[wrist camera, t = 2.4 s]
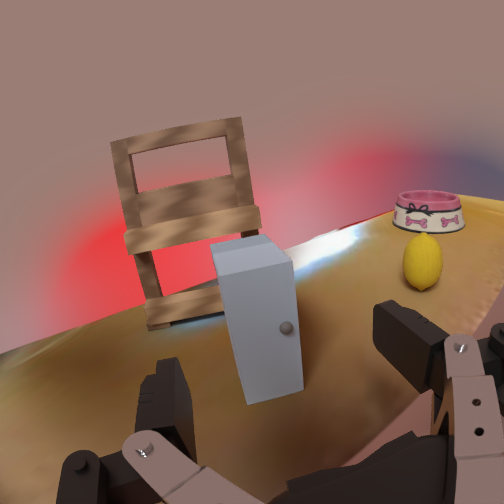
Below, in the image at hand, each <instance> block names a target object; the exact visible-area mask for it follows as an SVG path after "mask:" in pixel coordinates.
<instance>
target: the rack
mask: <svg viewBox="0 0 504 504" xmlns="http://www.w3.org/2000/svg"><path fill="white" fill-rule="evenodd" d="M223 136H225V138H226V145H227V150H228V158H229V164H230V170H231V175H225V176H220V177H214V178H209V179H204V180H198V181H193V182H188V183H183V184H178V185H173V186H168V187H164V188H159V189H154V190H150V191H145V192H141V193H138V189H137V184H136V178H135V173H134V167H133V162H132V156H131V155H132V154H136V153H141V152H145V151H149V150H154V149H158V148H163V147H167V146H172V145H177V144H183V143H188V142H193V141H199V140H204V139H211V138H217V137H223ZM110 144H111V150H112V157H113V162H114V168H115V174H116V179H117V184H118V189H119V194H120V199H121V204H122V209H123V213H124V218H125V222H126V226H127V231H126V232H125V233H124V239H125V243H126V247H127V251H128V255H132V254H133V255H134V259H135V262H136V266H137V270H138V273H139V277H140V280H141V284H142V287H143V291H144V294H145V297H146V303H145V307H144V310H145V313H146V316H147V327H148V330H149V331H150V330H155V329H161V328H166V327H170V326H171V321H176V320H181V319H186V318H191V317H196V316H201V315H206V314H211V313H216V312H220V311H224V308H223V303H222V298H221V294H220V289H219V285H217V286H213V287H208V288H203V289H198V290H193V291H188V292H183V293H178V294H173V295H168V296H163V294H162V291H161V287H160V283H159V280H158V276H157V272H156V269H155V264H154V260H153V256H152V252H151V250H155V249H160V248H165V247H169V246H174V245H179V244H184V243H189V242H193V241H198V240H203V239H208V238H214V237H218V236H224V235H228V234H234V233H239V232H241V238H245V237H250V236H256V235H259V232H258V229H259V228H262V225H261V218H260V211H259V207H258V206H256V205H255V204H254V198H253V192H252V185H251V178H250V172H249V166H248V158H247V152H246V145H245V139H244V133H243V126H242V120H241V117H235V118H227V119H220V120H214V121H208V122H201V123H196V124H190V125H185V126H179V127H174V128H169V129H165V130H159V131H155V132H150V133H146V134H142V135H138V136H133V137H129V138H126V139H121V140H117V141H113V142H111V143H110Z"/></svg>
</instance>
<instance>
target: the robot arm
mask: <svg viewBox="0 0 504 504" xmlns="http://www.w3.org/2000/svg"><path fill="white" fill-rule="evenodd" d="M373 342H374V345H375V347H376V349H377V350H378V351H379V352H380V353H381V354H382V355H383V356H384V357H385V358H386V359H387V360H388V361H389V362H390V363H391V364H392V365H393V366H394V367H395V368H396V369H397V370H398V371H399V372H400V373H401V374H402V375H403V376H404V377H405V378H406V379H407V380H408V381H409V383H410V384H411V385H412V386H413V387H414V388H415V389H416V390H417V391H418V392H419V393H420V394H422V393H424V392H426V391H428V390H429V389H432V390H433V394H432V413H431V431H430V435H427V436H421V437H417V436H416V435H415V434H414V433H413V432H412V431H410V432H408V433H406V434H404V435H402V436H400V437H398V438H397V439H394V440H393V441H390V442H388V443H386V444H384V445H383V446H382V447H381V448H379V449H378V450H377V451H375V452H374V453H373V454H371V455H370V456H369V457H367V458H366V459H364V460H363V461H362V462H360V463H358V464H356V465H352V466H346V467H340V468H334V469H327V470H320V471H317V472H314V473H311V474H308V475H305V476H302V477H299V478H295V479H292V480H289V481H286V482H287V487H288V490H286V491H284V492H283V493H281V494H279V495H278V496H276V497H275V498H273V499H272V500H271V501H270V502H269V503H268V504H504V438H503V430H502V422H501V415H502V416H503V417H504V323H498V324H496V325H494V326H493V327H492V328H491V332H490V336H489V337H488V338H484V339H480V340H477V341H476V340H475V339H474V338H473V337H471V336H469V335H466V334H453V335H451V336H450V335H449V334H448V333H446V332H445V331H444V330H442V329H441V328H439V327H438V326H437V325H435V324H434V323H432V322H429V320H428V319H427V318H425V317H423V316H422V315H421V314H420V313H418V312H417V311H415V310H412V309H409V308H406V307H402V306H400V305H399V304H398V303H396V302H395V301H393V300H388V301H385V302H382V303H379V304H376V305H375V306H374V308H373ZM139 395H140V396H139V401H138V403H139V404H138V408H137V415H136V423H135V432H134V434H132V435H131V436H129V437H128V438H127V439H126V441H125V442H124V444H123V447H122V450H121V451H119V452H116V453H113V454H110V455H107V456H104V457H101V458H99V457H98V456H97V455H96V454H95V453H93V452H92V451H89V450H79V451H76V452H74V453H72V454H70V455H69V456H68V457H67V458H66V459H65V461H64V463H63V466H62V471H61V476H60V481H59V487H58V493H57V499H56V504H156V503H158V502H161V501H162V502H163V503H164V504H265V503H263V502H261V501H259V500H258V499H256V498H254V497H253V496H251V495H250V494H248V493H246V492H245V491H243V490H242V489H240V488H239V487H237V486H236V485H234V484H232V483H231V482H229V481H228V480H227V479H225V478H224V477H222V476H221V475H219V474H218V473H216V472H215V471H214V470H212V469H211V468H209V467H207V466H203V467H200V466H198V465H197V457H196V446H195V435H194V423H193V410H192V399H191V394H190V390H189V387H188V385H187V382H186V379H185V377H184V374H183V372H182V369H181V366H180V363H179V361H178V359H177V357H174V358H169V359H163V360H158V361H157V366H156V374H153V375H147V377H146V378H145V379H144V381H143V382H142V384H141V387H140V394H139ZM500 414H501V415H500Z"/></svg>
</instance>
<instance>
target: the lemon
mask: <svg viewBox="0 0 504 504" xmlns="http://www.w3.org/2000/svg"><path fill="white" fill-rule="evenodd" d="M442 267H443V256H442V251H441V247H440V245H439V243H438V242H437V241H436V240H435V239H434V238H433V237H431V236H429V235H428V234H427V233H426V232H422V233H421V234H420V235H417V236H415V237H414V238H412V239H411V240H410V241H409V242H408V244H407V246H406V248H405V251H404V256H403V271H404V275H405V277H406V279H407V281H408V282H409V283H410V284H411V285H412V286H414V287H417V289H418V290H420V291H423V290H424V289H425V288H428V287H430V286H432V285H433V284H435V283H436V282H437V280H438V279H439V277H440V274H441V272H442Z"/></svg>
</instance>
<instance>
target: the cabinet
mask: <svg viewBox="0 0 504 504" xmlns="http://www.w3.org/2000/svg"><path fill="white" fill-rule="evenodd" d="M210 248H211V253H212V258H213V262H214V266H215V270H216V274H217V279H218V284H219V289H220V294H221V298H222V303H223V308H224V312H225V317H226V322H227V326H228V331H229V335H230V340H231V344H232V349H233V353H234V357H235V362H236V366H237V370H238V374H239V378H240V381H241V385H242V388H243V392H244V395H245V399H246V402H247V405H250V404H255V403H259V402H263V401H267V400H270V399H274V398H278V397H282V396H285V395H289V394H292V393H296V392H299V391H303V390H304V384H303V371H302V358H301V345H300V333H299V322H298V311H297V301H296V291H295V281H294V271H293V262H292V260H291V259H290V258H289V257H288V256H287V255H286V254H285V253H284V252H283V251H282V250H281V249H280V248H279V247H277V246H276V245H275V244H274V243H273V242H272V241H271V240H270V239H269V238H268V237H267V236H266V235H265V234H261V235H256V236H250V237H245V238H240V239H235V240H231V241H225V242H220V243H215V244H211V245H210Z"/></svg>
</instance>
